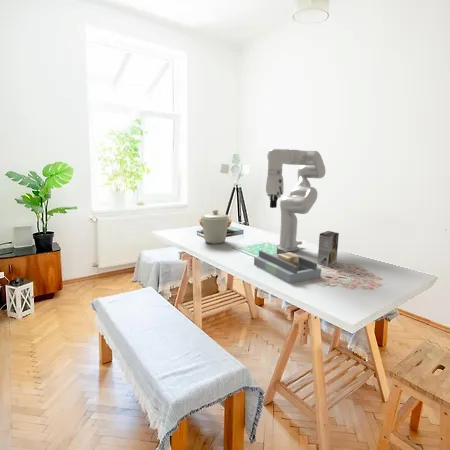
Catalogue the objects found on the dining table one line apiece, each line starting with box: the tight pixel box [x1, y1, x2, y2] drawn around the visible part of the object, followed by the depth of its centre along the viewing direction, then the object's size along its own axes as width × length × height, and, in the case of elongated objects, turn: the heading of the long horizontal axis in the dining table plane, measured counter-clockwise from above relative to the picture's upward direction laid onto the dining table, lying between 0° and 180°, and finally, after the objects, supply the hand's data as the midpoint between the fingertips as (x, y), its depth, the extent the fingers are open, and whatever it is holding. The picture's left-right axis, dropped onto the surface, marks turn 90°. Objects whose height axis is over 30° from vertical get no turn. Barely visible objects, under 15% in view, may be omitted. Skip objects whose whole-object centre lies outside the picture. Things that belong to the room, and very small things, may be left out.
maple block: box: [278, 252, 300, 265], centre depth 153 cm, size 7×7×4 cm
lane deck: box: [253, 247, 322, 284], centre depth 155 cm, size 18×28×7 cm, turn 28°
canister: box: [200, 209, 231, 245], centre depth 204 cm, size 18×18×21 cm
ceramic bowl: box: [198, 218, 232, 229], centre depth 239 cm, size 30×24×8 cm
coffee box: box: [316, 230, 339, 267], centre depth 166 cm, size 9×6×16 cm
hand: (273, 207), depth 174 cm, fingers closed
